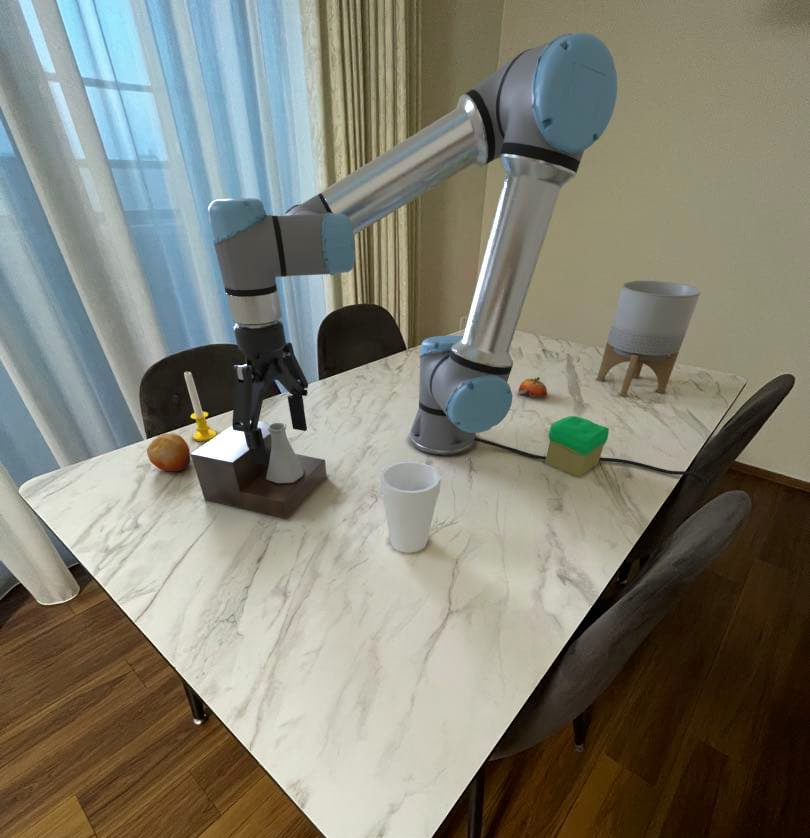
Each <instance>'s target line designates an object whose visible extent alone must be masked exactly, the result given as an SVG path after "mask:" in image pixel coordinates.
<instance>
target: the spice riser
mask: <svg viewBox="0 0 810 838" xmlns="http://www.w3.org/2000/svg"><path fill="white" fill-rule="evenodd" d="M250 423H251V421H250ZM271 424H273V423H272V422H266V421H261V420H259V422H258V426H257V428H261V430H262V435H263V440H264V444H265V449H266V453H267V458H268V462H269V461H270V454H271V433H270V432H269V431H268V427H269V425H271ZM295 454H296V456H297V457H298V459H299V461H300V462H301V464H302V465H303V467H304V472H303V476H302V477H300V478H299V479H298V480H296V481H295V482H292V483H275V482H273V481H270V480H267V479H266V477H267V471H268V466H269V463H268V464H267V465H264V464H258V463H253V461H252V457H251V453H250V449H249V448H248V446H247V443H246V439H245V435H244V432H241V431H235V430H233V428H232V425H231V426H229V427H228V428H226V429H225V430H223V431H222V432H220V433H219V434H217V436H216V437H215V438H213V439H212V440H209V441H206V443H204V444H203V445H201V446H199V447H198V448H197V449H195V450H194V451H192V452H191V453H190V459H191V460H192V461H191V462H192V463H193V464H192V465H193V467H194V470H195V474H196V476H197V480H198V482H199V486H200V490H201V493H202V496H203V499H204V501H208V502H212V503H215V504H216V503H217V504H220V505H224V506H229V507H232V508H236V509H241V510H245V511H249V512H254V513H256V514H262V515H266V516H270V517H274V518H279V519H282V520H288V518H290V516H292V515H293V513H295V511H296V510H297V509H298V508H299V507H300V506H301V505H302V504H303V503H304V501H305V500H306V499H307V498H308V497H309V496H310V495H311V494H312V493H313V492H314V491H315V490H316V489H317V488H318V487H319V485H321V483H322V482H323V481H324V480H325V479H326V478H327V476H328V475H327V467H326V459H323V458H318V457H313V456H308V455H303V454H302V455H301V454H298V453H295Z"/></svg>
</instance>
